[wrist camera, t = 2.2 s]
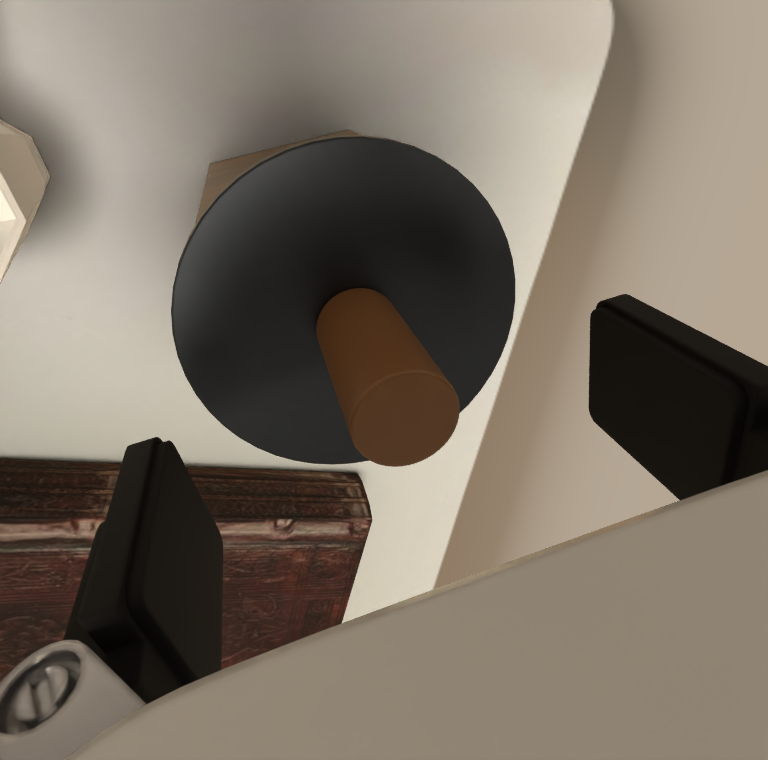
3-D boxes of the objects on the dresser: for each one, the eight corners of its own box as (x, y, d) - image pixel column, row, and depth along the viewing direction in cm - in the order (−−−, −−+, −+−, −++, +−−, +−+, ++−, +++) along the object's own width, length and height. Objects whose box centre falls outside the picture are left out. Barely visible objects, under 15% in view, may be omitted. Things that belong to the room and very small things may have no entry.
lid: (103, 190, 12) (24, 257, 8) (496, 93, 13) (637, 99, 9) (244, 492, 17) (250, 640, 13) (517, 404, 19) (611, 510, 14)
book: (358, 470, 36) (375, 520, 32) (309, 643, 44) (318, 702, 40) (-177, 447, 27) (-252, 515, 23) (-115, 675, 35) (-162, 756, 31)
